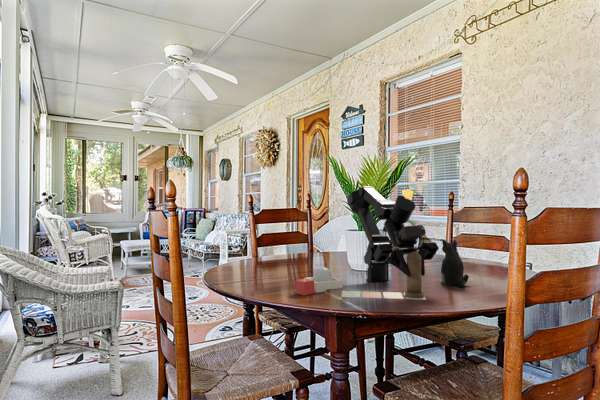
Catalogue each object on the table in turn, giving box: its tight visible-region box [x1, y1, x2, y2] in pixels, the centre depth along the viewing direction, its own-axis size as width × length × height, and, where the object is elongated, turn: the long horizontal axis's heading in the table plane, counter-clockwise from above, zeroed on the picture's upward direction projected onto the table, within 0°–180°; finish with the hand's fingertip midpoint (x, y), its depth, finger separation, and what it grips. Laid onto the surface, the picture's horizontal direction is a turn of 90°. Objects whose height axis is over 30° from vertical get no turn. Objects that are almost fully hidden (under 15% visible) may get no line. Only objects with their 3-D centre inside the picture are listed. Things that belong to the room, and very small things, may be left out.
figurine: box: [438, 239, 470, 288], centre depth 126 cm, size 10×10×15 cm
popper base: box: [305, 276, 343, 294], centre depth 123 cm, size 9×9×3 cm
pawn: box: [404, 252, 425, 298], centre depth 109 cm, size 5×5×13 cm
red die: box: [294, 277, 315, 297], centre depth 116 cm, size 4×4×4 cm
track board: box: [339, 290, 427, 301], centre depth 110 cm, size 24×10×1 cm, turn 81°
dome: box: [313, 266, 334, 282], centre depth 123 cm, size 6×6×6 cm
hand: (416, 275), depth 108 cm, fingers open, 4 cm apart
